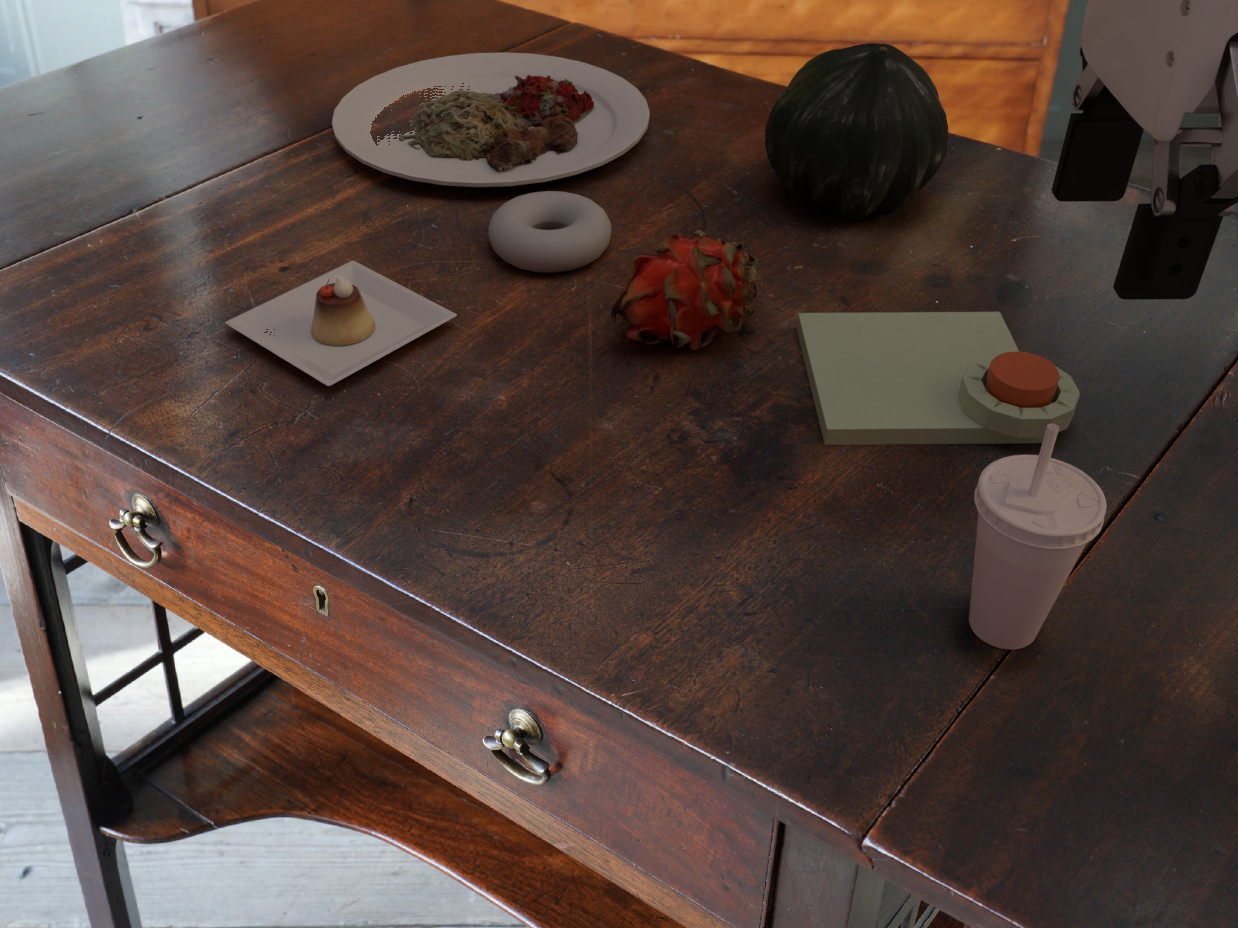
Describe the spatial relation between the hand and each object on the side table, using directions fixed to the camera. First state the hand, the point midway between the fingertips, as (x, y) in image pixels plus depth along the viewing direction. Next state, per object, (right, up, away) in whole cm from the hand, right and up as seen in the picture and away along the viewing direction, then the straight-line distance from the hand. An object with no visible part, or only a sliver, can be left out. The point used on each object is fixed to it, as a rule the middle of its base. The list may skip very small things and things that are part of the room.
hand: (1117, 242), depth 52 cm
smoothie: (0, -19, +15) cm, 24 cm away
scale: (-1, -4, +33) cm, 33 cm away
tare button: (+5, -5, +28) cm, 29 cm away
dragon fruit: (-17, 0, +37) cm, 41 cm away
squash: (-1, +14, +55) cm, 56 cm away
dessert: (-42, 0, +38) cm, 56 cm away
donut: (-27, +8, +47) cm, 55 cm away
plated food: (-34, +22, +65) cm, 76 cm away
